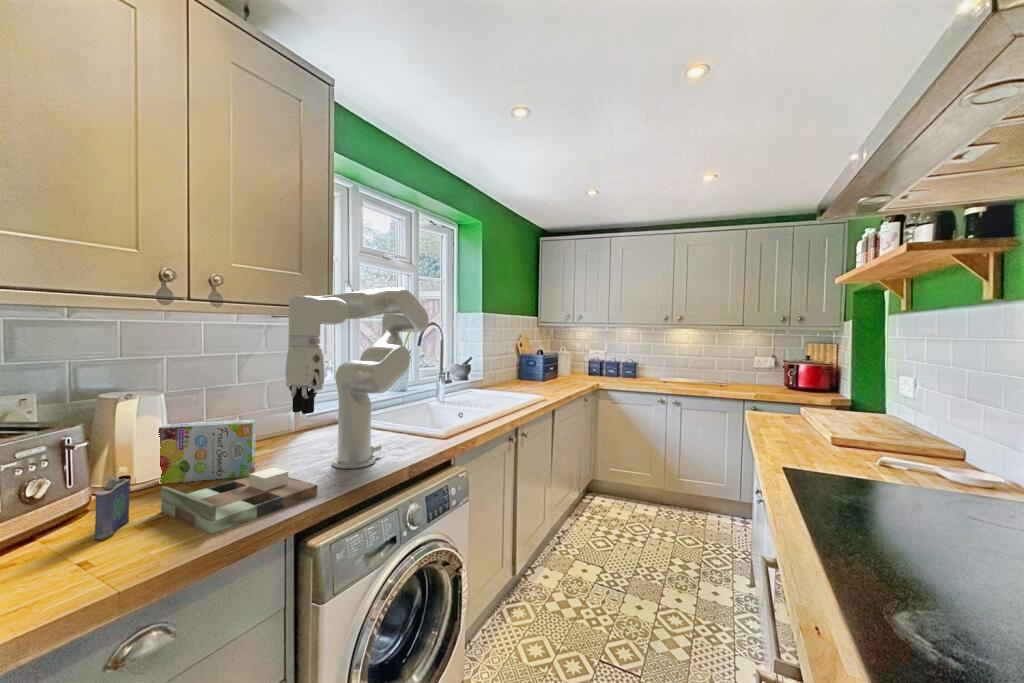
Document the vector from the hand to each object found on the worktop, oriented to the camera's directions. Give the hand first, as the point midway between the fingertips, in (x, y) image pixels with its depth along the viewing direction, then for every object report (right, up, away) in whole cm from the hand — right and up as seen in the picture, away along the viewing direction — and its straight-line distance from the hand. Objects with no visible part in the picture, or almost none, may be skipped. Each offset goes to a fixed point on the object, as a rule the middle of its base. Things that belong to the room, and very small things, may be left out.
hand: (303, 411), depth 112 cm
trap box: (-8, -19, -13) cm, 24 cm away
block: (-5, -17, -8) cm, 19 cm away
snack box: (-27, -19, +3) cm, 33 cm away
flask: (-25, -19, -28) cm, 42 cm away
